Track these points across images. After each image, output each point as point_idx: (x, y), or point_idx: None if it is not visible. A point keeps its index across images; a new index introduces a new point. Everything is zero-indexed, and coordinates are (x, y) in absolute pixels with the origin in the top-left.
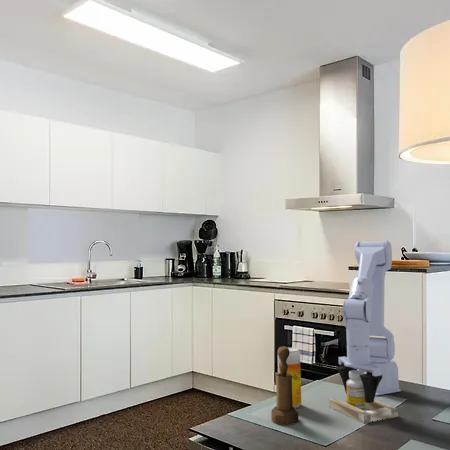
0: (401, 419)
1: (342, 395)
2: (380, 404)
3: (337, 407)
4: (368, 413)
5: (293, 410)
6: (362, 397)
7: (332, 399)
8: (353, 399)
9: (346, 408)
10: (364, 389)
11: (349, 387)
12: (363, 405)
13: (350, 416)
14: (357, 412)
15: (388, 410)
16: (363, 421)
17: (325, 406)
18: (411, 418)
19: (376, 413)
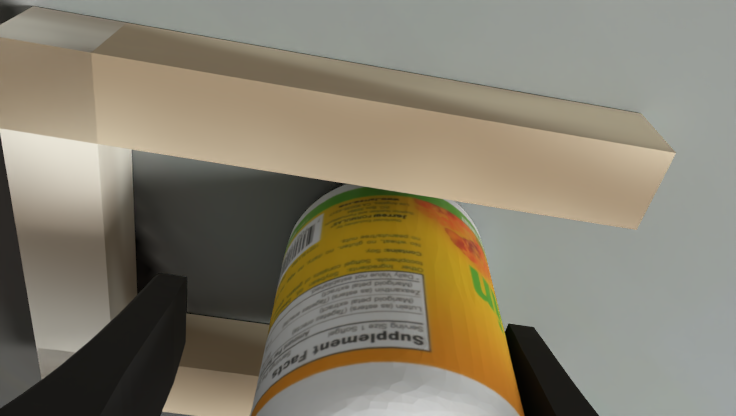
0: (9, 322)
1: (710, 405)
2: (198, 379)
3: (497, 101)
4: (11, 116)
5: None
6: (269, 327)
7: (630, 173)
8: (343, 252)
9: (330, 87)
10: (107, 374)
11: (401, 348)
12: (281, 275)
13: (266, 48)
14: (112, 54)
15: (35, 322)
16: (31, 10)
17: (681, 93)
18: (3, 379)
19: (16, 196)
